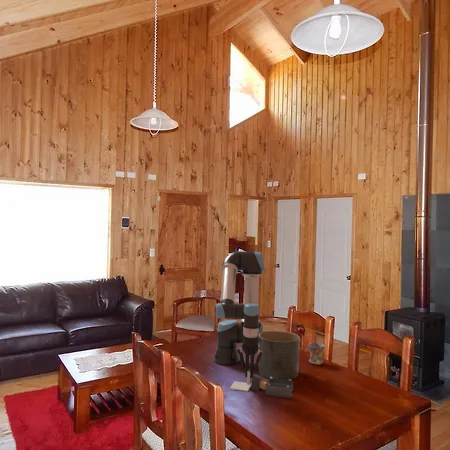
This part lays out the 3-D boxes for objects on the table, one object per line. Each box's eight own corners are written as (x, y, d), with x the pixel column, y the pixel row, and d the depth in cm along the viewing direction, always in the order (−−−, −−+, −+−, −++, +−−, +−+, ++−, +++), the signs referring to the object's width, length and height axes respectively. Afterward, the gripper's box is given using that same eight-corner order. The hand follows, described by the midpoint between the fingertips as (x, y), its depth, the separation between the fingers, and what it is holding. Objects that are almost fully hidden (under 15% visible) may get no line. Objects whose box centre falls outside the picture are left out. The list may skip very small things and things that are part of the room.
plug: (250, 389, 191) (252, 377, 191) (251, 385, 195) (253, 374, 195) (264, 392, 189) (266, 380, 189) (265, 389, 193) (267, 377, 193)
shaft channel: (265, 394, 186) (265, 383, 186) (268, 386, 196) (269, 376, 196) (290, 398, 183) (291, 387, 183) (293, 389, 193) (293, 379, 193)
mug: (318, 359, 238) (319, 342, 238) (327, 365, 229) (327, 346, 230) (301, 361, 234) (301, 343, 235) (309, 366, 226) (309, 348, 226)
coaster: (229, 389, 191) (229, 388, 191) (234, 382, 200) (234, 381, 200) (248, 391, 189) (248, 390, 189) (251, 384, 198) (251, 383, 198)
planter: (303, 370, 220) (304, 334, 220) (292, 384, 200) (293, 344, 200) (265, 363, 229) (266, 329, 230) (251, 376, 209) (252, 338, 209)
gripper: (236, 336, 192) (234, 384, 191) (262, 339, 188) (260, 388, 188) (239, 332, 199) (238, 379, 199) (264, 335, 195) (263, 383, 195)
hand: (248, 384), depth 193 cm, fingers closed
